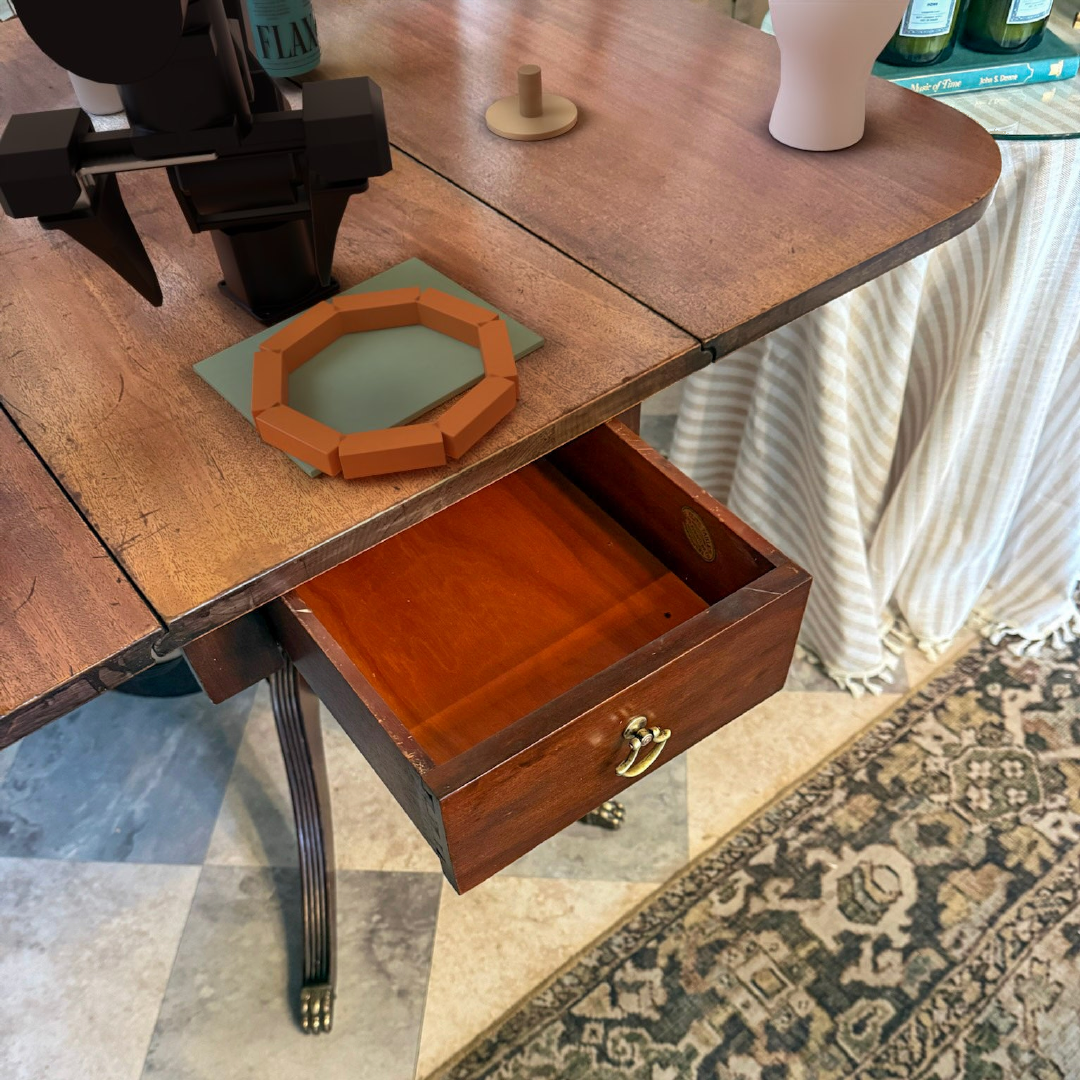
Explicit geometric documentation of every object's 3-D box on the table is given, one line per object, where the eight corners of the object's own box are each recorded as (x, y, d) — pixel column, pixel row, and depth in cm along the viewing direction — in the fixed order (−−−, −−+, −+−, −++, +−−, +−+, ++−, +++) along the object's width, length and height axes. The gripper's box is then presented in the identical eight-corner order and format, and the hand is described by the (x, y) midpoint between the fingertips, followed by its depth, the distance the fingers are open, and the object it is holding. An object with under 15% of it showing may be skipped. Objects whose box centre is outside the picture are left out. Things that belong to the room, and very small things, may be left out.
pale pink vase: (839, 93, 88) (874, -102, 77) (906, 146, 81) (955, -61, 70) (729, 115, 86) (749, -82, 75) (788, 170, 79) (820, -38, 68)
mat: (312, 478, 58) (310, 472, 57) (194, 371, 65) (191, 365, 65) (544, 344, 65) (544, 338, 65) (415, 262, 73) (414, 256, 72)
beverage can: (141, 107, 92) (93, -36, 83) (89, 121, 91) (34, -23, 82) (127, 89, 95) (79, -51, 86) (76, 102, 94) (22, -39, 85)
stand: (527, 150, 84) (524, 98, 80) (467, 120, 88) (462, 70, 85) (596, 118, 87) (596, 67, 84) (535, 91, 91) (533, 42, 88)
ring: (255, 492, 56) (247, 469, 55) (262, 329, 67) (255, 306, 66) (532, 452, 58) (531, 429, 56) (496, 299, 68) (494, 276, 67)
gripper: (355, -84, 51) (399, 201, 62) (-25, -48, 49) (92, 238, 61) (365, -6, 43) (413, 302, 55) (-83, 40, 42) (63, 346, 53)
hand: (242, 292), depth 56 cm, fingers open, 9 cm apart
